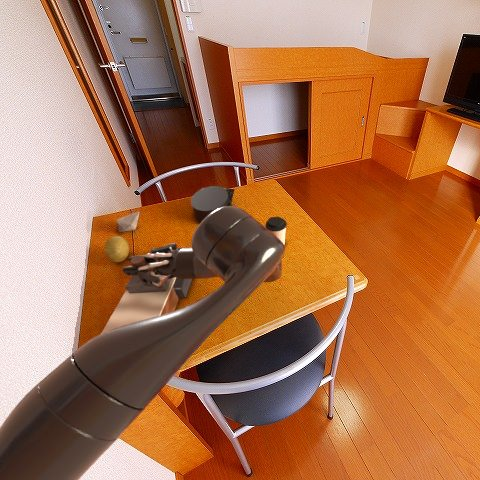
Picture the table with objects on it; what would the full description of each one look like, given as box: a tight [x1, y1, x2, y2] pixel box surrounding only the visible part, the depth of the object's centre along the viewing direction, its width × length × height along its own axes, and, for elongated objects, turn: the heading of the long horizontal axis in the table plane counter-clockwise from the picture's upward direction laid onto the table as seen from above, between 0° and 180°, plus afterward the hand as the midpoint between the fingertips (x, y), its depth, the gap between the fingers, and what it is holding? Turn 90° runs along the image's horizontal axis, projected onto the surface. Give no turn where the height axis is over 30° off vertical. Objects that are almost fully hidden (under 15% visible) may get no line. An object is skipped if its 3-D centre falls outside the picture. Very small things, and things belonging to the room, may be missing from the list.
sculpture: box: [104, 235, 130, 263], centre depth 84 cm, size 8×4×8 cm, turn 8°
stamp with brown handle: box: [124, 254, 172, 293], centre depth 69 cm, size 5×9×9 cm, turn 95°
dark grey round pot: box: [190, 185, 236, 224], centre depth 106 cm, size 14×18×8 cm
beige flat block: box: [100, 277, 180, 334], centre depth 68 cm, size 20×11×6 cm, turn 5°
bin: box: [148, 247, 193, 299], centre depth 81 cm, size 17×14×3 cm
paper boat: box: [116, 209, 140, 233], centre depth 97 cm, size 12×6×9 cm
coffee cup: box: [264, 216, 288, 246], centre depth 91 cm, size 7×7×10 cm
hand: (127, 265), depth 67 cm, fingers closed on stamp with brown handle, 3 cm apart
